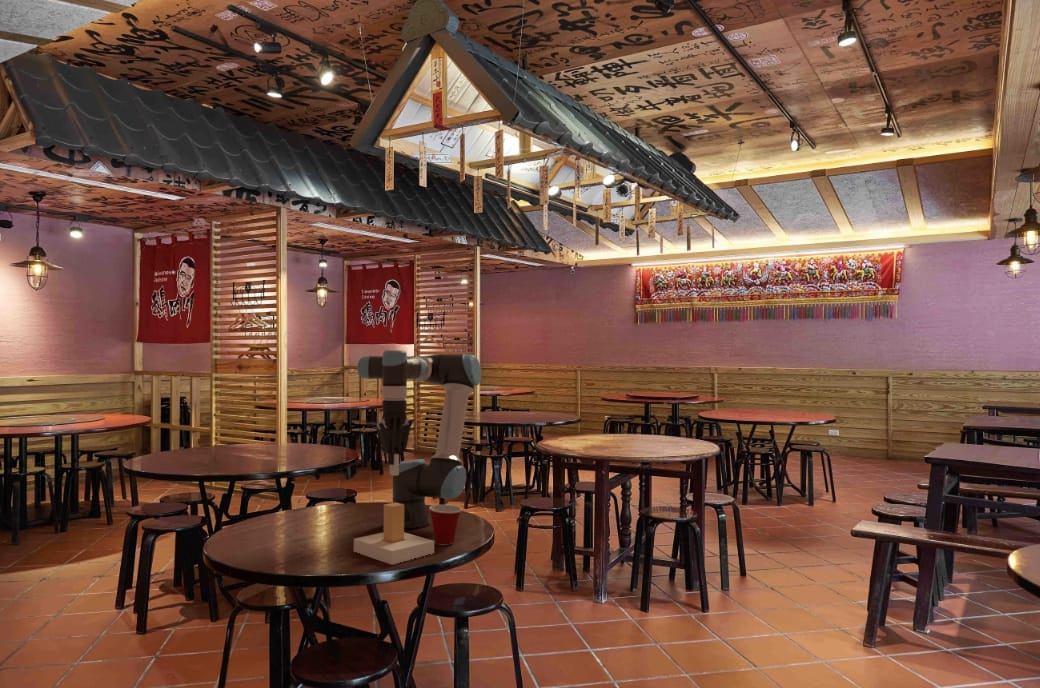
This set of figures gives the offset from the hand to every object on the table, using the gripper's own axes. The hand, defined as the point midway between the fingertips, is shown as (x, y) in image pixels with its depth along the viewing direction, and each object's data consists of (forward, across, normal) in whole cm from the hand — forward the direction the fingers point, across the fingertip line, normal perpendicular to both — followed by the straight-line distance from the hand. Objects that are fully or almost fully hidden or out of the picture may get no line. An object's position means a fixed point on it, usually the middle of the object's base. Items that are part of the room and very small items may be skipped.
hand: (394, 474), depth 222 cm
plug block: (+24, 0, 0) cm, 24 cm away
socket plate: (+24, 0, 0) cm, 24 cm away
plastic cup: (+25, -18, +4) cm, 31 cm away
